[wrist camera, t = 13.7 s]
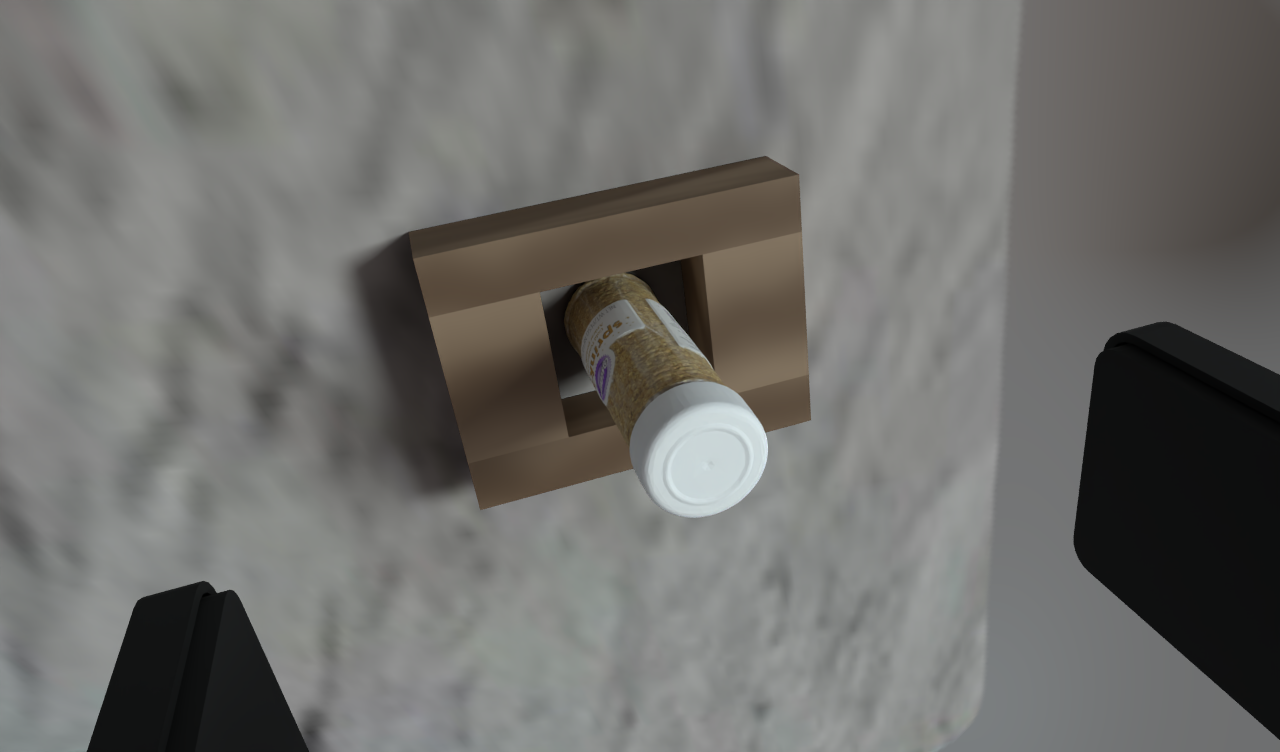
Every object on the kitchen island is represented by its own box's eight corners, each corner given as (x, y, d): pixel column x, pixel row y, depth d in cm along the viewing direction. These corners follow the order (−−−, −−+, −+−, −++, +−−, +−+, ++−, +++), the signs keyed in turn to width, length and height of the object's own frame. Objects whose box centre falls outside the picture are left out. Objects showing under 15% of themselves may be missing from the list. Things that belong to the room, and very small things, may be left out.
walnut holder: (408, 232, 38) (412, 258, 34) (765, 156, 40) (798, 174, 37) (471, 469, 43) (480, 510, 40) (781, 387, 46) (810, 420, 43)
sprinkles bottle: (556, 278, 40) (638, 421, 29) (654, 261, 41) (771, 392, 30) (568, 369, 42) (649, 536, 31) (661, 350, 43) (773, 506, 32)
